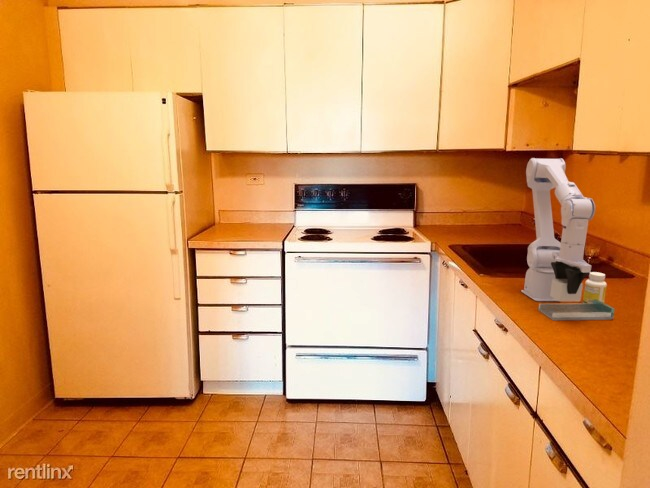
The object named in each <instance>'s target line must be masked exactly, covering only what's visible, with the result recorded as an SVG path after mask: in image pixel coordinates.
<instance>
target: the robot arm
mask: <svg viewBox="0 0 650 488" xmlns="http://www.w3.org/2000/svg"><path fill="white" fill-rule="evenodd" d="M566 167H567V166H566V162H565V160H564V158H561V157H560V158H535V157H531V158H530V159H529V161H528V162H527V165H526V170H525V175H526V185H527V187H528V188H530V189H531V191H532V201H533V212H534V224H535V235H536V239H535V240H534V241H533V242H531V243H530V244H529V245H528V246H527V256H526V261H527V265H528V267H529V268H528V269H527V270H526V272H525V279H524V286H523V287H524V288H523V289H521V293H523V294H524V295H525V296H527V297H529V298H530V299H531V300H534V301H535V302H559V301H558V300H556V299H554V298H553V297H551V296H550V293H551V285H552V279H567V292H568V294H576V293H577V291H578V289H579V286H580V284H581V283H582V284H583V280H585V279H586V277H587V276H589V274H590V272H592V271H591V270H592V265H591V264H589V263H587V261H585V260H584V254H585V246H586V241H587V240H586V239H587V233H588V228H589V227H588V226H589V221H590V220H592V219H594V218H593V217H594V216H595V213H596V204H595V202H594V200H593V198H591V197H585V196H584V195H583V193H582V192H581V190H580V189H579V188H578V186H577V185H576V183H575V182H573V181H569V179H568V177H567V175H566ZM553 189H554V195H555V198H556V199H557V200H558V202H559V204H560V206H561V207H560V215H561V221H560V222H561V226H562V231H561V238H560V239H561V240H560V241H559V240H558V239H556V238H555V232H554V230H555V229H554V221H553V220H554V219H553V211H552V210H553V209H552V202H551V199H552V198H551V190H553Z"/></svg>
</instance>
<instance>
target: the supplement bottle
mask: <svg viewBox="0 0 650 488" xmlns="http://www.w3.org/2000/svg"><path fill="white" fill-rule="evenodd" d="M605 278H606V274H605V273H602V272H599V271H598V272H597V271H591V272H590V273H589V274H588V279H586V280H585V284H584V291H583V297H582V303H593V302H594V299H597V300H599V301H601V302H603V303H605V299H606V292H607V286H608V284H607V282H606V281H605Z"/></svg>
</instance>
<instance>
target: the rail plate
mask: <svg viewBox="0 0 650 488" xmlns="http://www.w3.org/2000/svg"><path fill="white" fill-rule="evenodd" d="M538 312H541V313H542V314H543V315H545V316H546V317H548V318H549V319H550V320H552V321H604V320H605V321H606V320H607V321H611V320H614V315H615V314H614V313H615V308H614V307H612V306H611V305H608V304H607V303H605V302H604V303H603V302H601V301H599V300H597V299H594V302H593V303H583V302H581V303H578V302H577V303H575V302H574V303H571V302H570V303H569V302H568V303H539V304H538Z"/></svg>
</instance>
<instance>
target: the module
mask: <svg viewBox="0 0 650 488" xmlns="http://www.w3.org/2000/svg"><path fill="white" fill-rule="evenodd" d="M583 287H584V283H583V282H582V283H581V284H580V286H579V289H578V291H577V293H576V294H568V292H567V279H552V285H551V293H550V296H551V297H553V298H554V299H556V300H558V301H557V302H581V299H582V294H583V293H582V292H583Z"/></svg>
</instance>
